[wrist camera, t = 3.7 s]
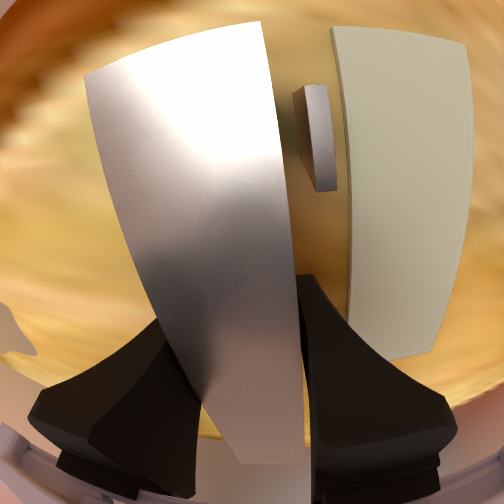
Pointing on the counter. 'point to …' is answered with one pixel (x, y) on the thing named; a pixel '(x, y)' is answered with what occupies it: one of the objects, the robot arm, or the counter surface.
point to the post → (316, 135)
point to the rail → (210, 225)
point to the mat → (404, 180)
